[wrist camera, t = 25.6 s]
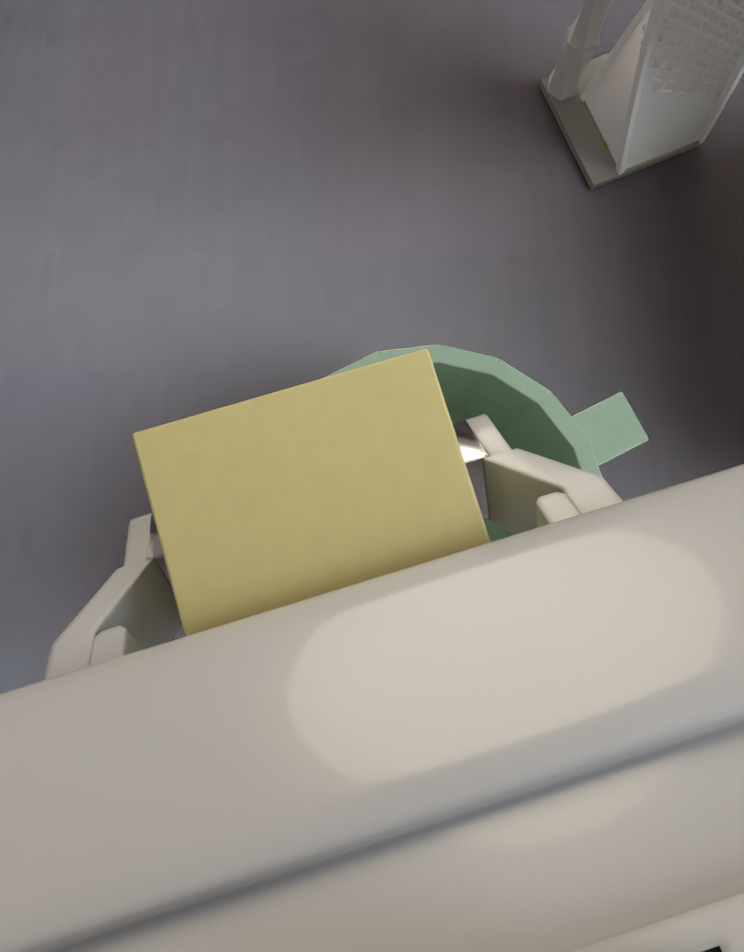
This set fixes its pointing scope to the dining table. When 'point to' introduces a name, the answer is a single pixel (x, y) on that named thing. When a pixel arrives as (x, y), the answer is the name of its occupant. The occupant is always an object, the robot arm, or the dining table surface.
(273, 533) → the butter
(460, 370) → the pot
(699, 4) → the skyscraper
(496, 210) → the dining table surface
